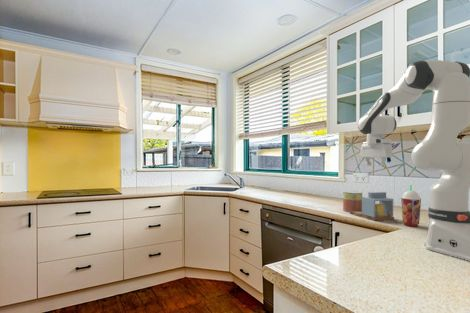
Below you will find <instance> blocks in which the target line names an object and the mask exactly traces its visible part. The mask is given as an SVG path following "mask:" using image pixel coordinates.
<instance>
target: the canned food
mask: <svg viewBox="0 0 470 313" xmlns="http://www.w3.org/2000/svg"><path fill="white" fill-rule="evenodd" d="M342 194H343V196H342V199H343V200H342V203H343V204H342V210H343V212H346V213H350V211H362V197H363V192H362V191H356V190H346V191H345V190H343V191H342Z"/></svg>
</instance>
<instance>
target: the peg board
mask: <svg viewBox="0 0 470 313" xmlns="http://www.w3.org/2000/svg"><path fill="white" fill-rule="evenodd" d="M349 213H350V215H353V216H356V217H360V218H364V219H366V218H367V220H369V221H370V220H371V221H373V222H375V221H376V222H377V221H378V222H379V221H391V220H392V221H395V216H394V215H393V216H391V211H387V215H385V214H384V216H380V217H379V212H376V216H375V217H371V216H368V215H364V214H362V211H350V212H349Z"/></svg>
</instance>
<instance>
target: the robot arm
mask: <svg viewBox="0 0 470 313" xmlns="http://www.w3.org/2000/svg"><path fill="white" fill-rule="evenodd" d="M426 90H430V91H432V96H433V97H432V108H431V120H430V126H429V128H428V130H427V133H426V134H425V137H424V138H423V139H422V141H420V142H419V143H418V144H416V145H415V146H414V148H413V149H412V151H411V155H410V156H411V162H412V163H413V165H414V166H415V167H416V168H417V169H419V170H425V171H428V172H429V171H430V172H441V174H440V175H441V176H440V177H439V179H438V180H437V181H436V182H434V183H433V184H431V186H430V188H429V207H428V210H427V211H428V215H427V217H428V219H429V221H428V229H427V234H426V238H425V241H424V246H426V249H427V250H428V251H429V250H430V251H433V252H436V253H439V254H443V255H446V256H451V257H453V256H454V258H457V257H458V258H457V259H460V258H461V260H464V259H465V260H464V261H467V260H468V262H470V210H469V201H470V200H469V199H470V198H469V196H470V195H469V194H470V142H469V141H457V139H458V136H459V134H460V133H461V132H462V131H463V130H465V129H466V128H467V127H469V126H470V67H469V65H468V64H466V63H465V62H461V61H449V60H440V59H438V60H418V61H415V62H412V63H410V64H409V66H408V67H407V68H406V70H405V71H404V74H402V76H401V77H400V79H399V81H398V82H397V83H396V84H395V86H393V87H392V88H391V89H390V90H388V91H387V92H385V93H383V94H382V95H381V96H380V97H379V98H378V99H377V100H376V101H375V103H373V105H372V106H371V107H370V108H369V109H368V111H367V112H366V113H364V115H362V116H361V117H360V118H359V120H358V122H357V129H358V131H359V132H360V133H362V134H363V135H366V141H365V142H364V141H363V143H362V144H361V146H360V154H359V155H360V158H365V160H364V161H365V163H366V166H372V162H371V161H370V160H371V158H372V159H373V158H378V159H379V158H380V160H381V161H380V162H379V166H380V167H384V166H385V162H386V160H387V158H391V157H392V156H393V145H392V142H393V139H390V138H387V137H385V135H388V134H392V133H393V132H395V130H396V129H397V120H396V118H395V117H394V116H392V115H388V114H384V112H385V111H387V110H390V109H392V108H396V107H402V106H403V107H404V106H408V105H411V104H413V103H414V102H416V101H417V100H418V99H420V97H421V96H422V94H423V93H424V92H425V91H426Z"/></svg>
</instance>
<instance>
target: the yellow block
mask: <svg viewBox="0 0 470 313" xmlns="http://www.w3.org/2000/svg"><path fill="white" fill-rule="evenodd" d="M376 212H379V217H380V216H384V205H380V204H377V203H375V216H376Z"/></svg>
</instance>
